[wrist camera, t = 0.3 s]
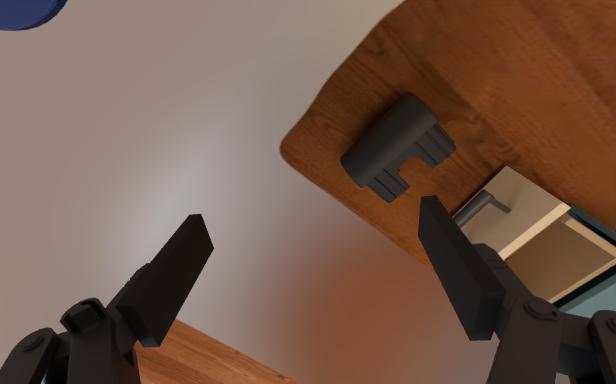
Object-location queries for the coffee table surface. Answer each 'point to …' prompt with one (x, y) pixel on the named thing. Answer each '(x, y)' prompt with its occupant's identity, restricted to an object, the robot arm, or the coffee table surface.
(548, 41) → the coffee table surface
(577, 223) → the drawer
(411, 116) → the end cap
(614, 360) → the robot arm
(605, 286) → the cabinet
